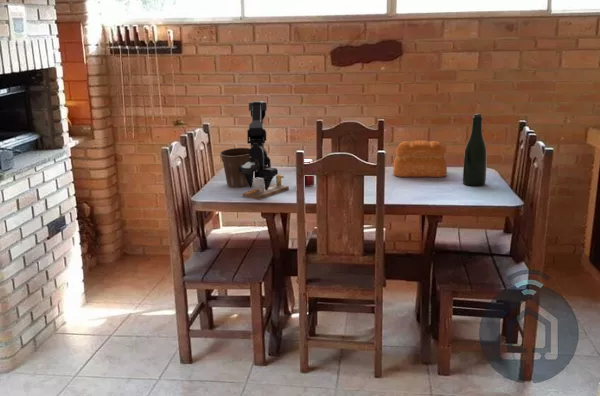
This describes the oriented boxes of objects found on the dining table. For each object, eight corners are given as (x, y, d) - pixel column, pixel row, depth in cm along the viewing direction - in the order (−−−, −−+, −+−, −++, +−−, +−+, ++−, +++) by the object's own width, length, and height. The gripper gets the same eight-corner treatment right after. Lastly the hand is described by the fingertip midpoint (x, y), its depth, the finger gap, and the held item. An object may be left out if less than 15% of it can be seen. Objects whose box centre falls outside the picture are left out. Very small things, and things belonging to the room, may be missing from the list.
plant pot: (249, 189, 290) (246, 156, 285) (217, 188, 294) (214, 155, 289) (260, 179, 304) (258, 147, 300) (230, 179, 309) (227, 147, 304)
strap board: (272, 186, 294) (272, 183, 293) (288, 189, 288) (288, 186, 287) (242, 196, 278) (242, 192, 277) (259, 199, 272) (259, 195, 271)
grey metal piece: (257, 190, 281) (257, 177, 279) (264, 191, 278) (263, 178, 277) (245, 194, 274) (244, 181, 273) (251, 195, 272) (251, 182, 270)
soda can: (316, 183, 298) (315, 159, 295) (311, 187, 291) (311, 162, 288) (302, 182, 300) (301, 158, 297) (297, 186, 293) (296, 161, 290)
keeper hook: (278, 184, 291) (278, 174, 290) (285, 185, 289) (284, 175, 288) (275, 185, 289) (274, 175, 288) (281, 186, 287) (281, 176, 286)
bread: (392, 171, 321) (393, 138, 317) (443, 170, 319) (444, 137, 314) (394, 178, 306) (394, 143, 301) (448, 177, 304) (449, 143, 299)
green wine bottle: (489, 183, 290) (493, 113, 282) (478, 187, 283) (482, 115, 274) (469, 180, 297) (472, 111, 289) (458, 184, 290) (461, 114, 281)
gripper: (229, 155, 273) (231, 189, 277) (261, 160, 262) (262, 195, 266) (246, 151, 282) (247, 184, 286) (277, 155, 271) (279, 190, 275)
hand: (258, 188), depth 278 cm, fingers open, 9 cm apart
